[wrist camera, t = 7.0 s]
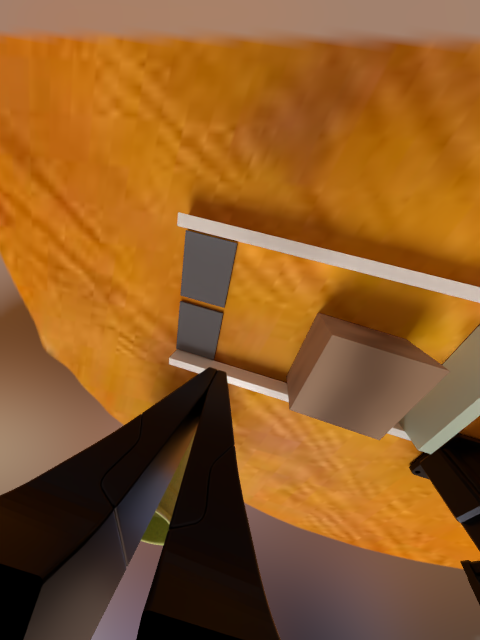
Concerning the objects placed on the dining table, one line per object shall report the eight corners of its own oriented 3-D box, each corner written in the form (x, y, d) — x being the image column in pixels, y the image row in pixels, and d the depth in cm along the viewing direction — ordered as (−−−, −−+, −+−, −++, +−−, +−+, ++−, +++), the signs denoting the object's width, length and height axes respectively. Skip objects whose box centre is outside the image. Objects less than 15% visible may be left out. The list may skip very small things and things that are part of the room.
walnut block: (404, 337, 14) (450, 371, 10) (356, 397, 17) (379, 440, 13) (317, 311, 14) (332, 334, 11) (286, 374, 17) (289, 409, 14)
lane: (523, 299, 11) (603, 316, 8) (399, 424, 17) (424, 459, 14) (188, 215, 13) (165, 207, 10) (176, 355, 18) (159, 374, 16)
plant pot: (146, 437, 26) (90, 521, 18) (145, 392, 22) (72, 476, 14) (206, 458, 25) (175, 555, 17) (216, 415, 21) (181, 517, 13)
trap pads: (237, 243, 13) (236, 243, 13) (214, 358, 18) (213, 360, 17) (187, 230, 13) (185, 230, 13) (177, 347, 18) (176, 348, 18)
